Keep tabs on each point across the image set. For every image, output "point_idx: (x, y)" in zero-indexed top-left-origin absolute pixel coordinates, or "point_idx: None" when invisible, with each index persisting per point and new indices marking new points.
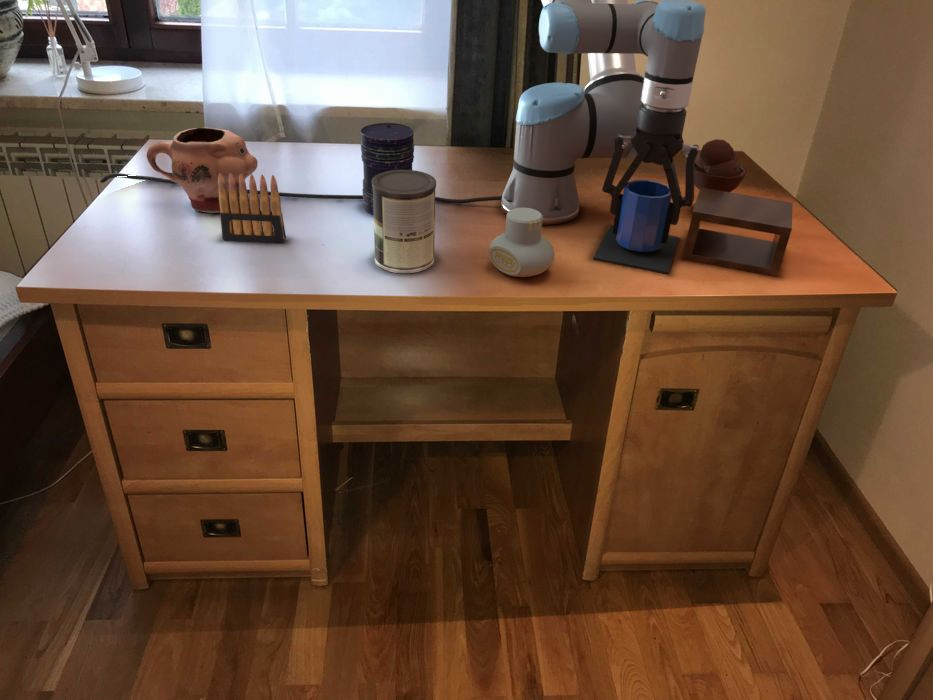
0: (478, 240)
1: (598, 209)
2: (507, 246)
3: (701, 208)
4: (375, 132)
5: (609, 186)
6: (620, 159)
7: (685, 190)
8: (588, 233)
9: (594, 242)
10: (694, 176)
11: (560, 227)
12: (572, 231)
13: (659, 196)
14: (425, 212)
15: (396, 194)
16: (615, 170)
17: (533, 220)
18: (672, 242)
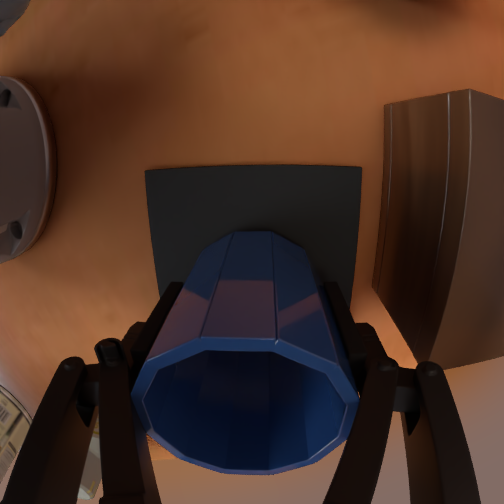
0: (7, 346)
1: (92, 70)
2: None
3: (457, 338)
4: None
5: (95, 416)
6: (52, 474)
7: (406, 451)
8: (112, 242)
9: (144, 287)
10: (464, 452)
11: (53, 239)
12: (80, 248)
13: (300, 463)
14: (2, 472)
15: None
16: (82, 471)
17: (88, 499)
18: (344, 212)
